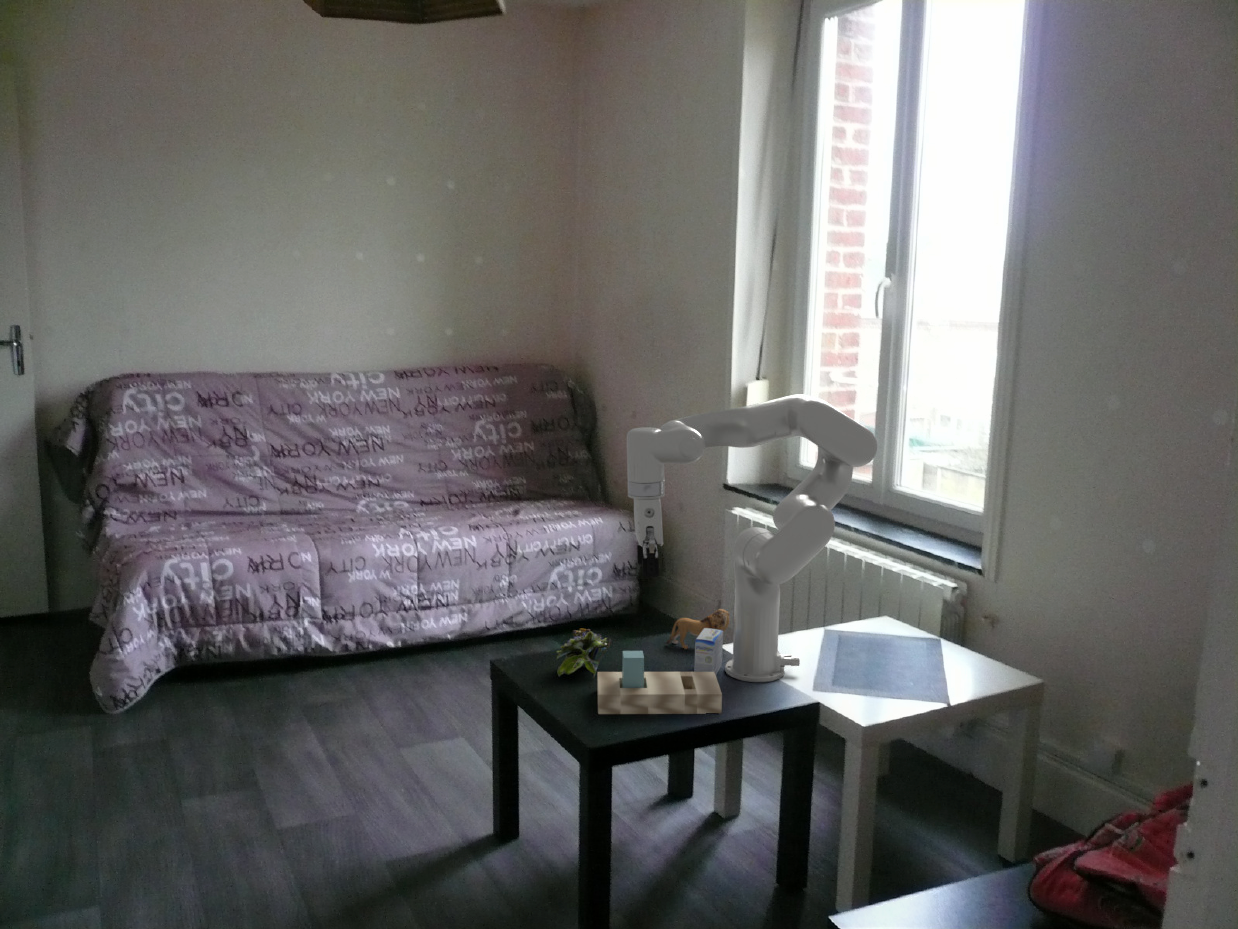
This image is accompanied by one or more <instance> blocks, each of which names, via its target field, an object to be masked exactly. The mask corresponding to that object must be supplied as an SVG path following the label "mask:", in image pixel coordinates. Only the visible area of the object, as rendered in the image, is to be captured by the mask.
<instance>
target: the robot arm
mask: <svg viewBox="0 0 1238 929" xmlns="http://www.w3.org/2000/svg"><path fill="white" fill-rule="evenodd" d="M798 436H799V437H801V438H804V439H806V440H808V441H810V442H811V443H813V444H814V445H816V446H817V458H816V463H815V465H814V467H813V468H812V470H811V472H810V473H809V474H808V475H807V476H806V477H805V478H804V479H803V480H802V481H801V482H800V483H799V484H798V485H797V486H796V487H795V488H794V489H793V490H791V491H790V492H789V493H788V494H787V495H786V496H785V497H784V498H783V499H782V500H781V501H780V502H779V503H778V504H777V505H776V507H775V508H774V511H773V513H772V521H773V524H774V526H775V528H776V529H777V531H776V532H775V533H773V532H772V531H770V530H768V529H767V528H763V527H758V526H757V527H756V526H754V527H753V526H752V527H749V528H746V529H744V530H742V531H741V532H740V533H739V534H738V535H737V537H736V539H735V541H734V544H733V547H732V564H733V573H734V603H733V604H734V607H733V609H734V612H733V640H732V643H733V644H732V659H730V660H729V661H727V662H725V665H724V667H725V668H724V670H725V672H726V674H727V675H728V676H730V677H732V678H734V679H736V680H739V681H742V682H743V681H744V682H751V683H767V682H774V681H776V680H779V679H781V678H782V677H783V676H784V675H785V668H786V666H790V667H799V666H800V665H801V663H800V657H799V656H792V654H791V653H785V654H783V653H782V654H781V653H780V651H779V647H778V646H779V628H780V627H779V624H780V623H779V622H780V603H781V589H780V588H781V586H780V585H781V584H784V583H786V582H788V581H790V580H791V579H792V578H793V577H794V576H796V575H797V574H798V573H799V572H800V571H801V570H802V569H803V568H804V567H805V566H806V565H807V564H809V563H810V562H811V560H813V559H814V558H815V557H816V556H817V555H818V554H819V553H820V552H821V551H822V550H823V549H824V548H825V547H826V546H827V545H828V543H829V542H830V541H831V539H832V537H833V534H834V532H835V527H836V522H835V521H836V520H835V517H834V514H833V513H832V511H831V510H833V509H834V507H835V506H836V505H837V504H838V503H839V502H840V501H841V500H842V498H844V496H845V495H846V494H847V492H848V490H849V488H850V487H851V482H852V478H853V474H854V468H860V467H863V466H866V465H868V464H870V463H871V462H872V461H873V459H875V457H876V454H877V452H878V441H877V438H876V436H875V434H874V433H873V431H871V429H869V428H868V427H866V426H865V425H863V424H862V423H860V422H858V421H856V420H855V419H854V418H852V417H850V416H848V415H847V414H845V412H842V411H841V410H839V409H837V408H836V407H835V406H834V405H832V404H830V403H829V402H827V401H826V400H823V399H822V398H819V397H814V396H810V395H807V394H799V393H798V394H797V393H796V394H791V395H787V396H784V397H783V396H782V397H779V398H775V399H774V398H773V399H770V400H767V401H762V402H759V403H753V404H749V405H745V406H741V407H734V408H728V409H723V410H717V411H708V412H702V413H697V414H693V415H688V416H684V417H680V418H676V419H673V420H669V421H668V422H667V421H666V422H665V423H664V424H662V425H661V426H660V427H659V428H657V427H649V426H647V427H645V426H643V427H635V428H632V429H630V430H628V432H627V434H626V460H627V461H626V462H627V464H626V466H627V467H626V468H627V470H626V472H627V497H628V498H630V499H633V520H634V531H635V538H636V540H637V547H636V552H637V555H636V556H637V564H638V565H642V576H643V578H657V577H659V576H660V575H659V574H660V573H659V572H660V571H659V568H660V567H659V566H660V565H659V564H660V563H659V561H660V560H659V552H658V545H659V546H660V547H662V546H663V545H664V534H663V533H664V532H663V512H662V503H661V502H662V501H661V498H664V497H665V496H666V491H665V490H666V488H665V487H666V485H665V482H666V480H665V464H674V465H690V464H693V463H695V462H697V461H698V460H700V459H701V458H702V456H703V455H704V453H705V450H706V449H707V448H712V447H713V448H714V447H729V448H730V447H732V448H742V449H743V448H754V447H759V446H762V445H766V444H770V443H773V442H776V441H777V442H778V441H781V440H786V439H790V438H793V437H798Z"/></svg>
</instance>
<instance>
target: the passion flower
mask: <svg viewBox="0 0 1238 929" xmlns="http://www.w3.org/2000/svg"><path fill="white" fill-rule="evenodd" d="M572 633H573V636H572V637H573V638H571V637H570V638H569V640H566V641H567V643H564V645H561V646H560V648H561V650H556V654H557V656H556V660H559V659H560V658H561V657H564V656H565V655H566V656H565V658H564V659H563V661H562V663H561V665H560V666H558V668H557V676H558V677H559V678H560V677H561V676H562V675H564V674H566V675H570V674H573V673H574V672H576V671H577V670H579V669H580V668H582V667H584V666H585V668H586V669H587V670H588V671H589V672H590V673H592V674H593V676H592V679H593V678H594V679H595V676H596V673H597V669H598V666H599V665H600V663H601V662H600V661H601V659H602V658H603V656H604V654H605V653H606V652H607V651H608V649H609V648H610V646H611V645H612V639H611V638H609V640H608V637H605V638H603V637H602V636H603V635H601V634H600V633H596V632H595V633H594V632H593V631H591V629H589V628H587V629H586V628H579V630H578V629H577V630H576V629H574V630H572ZM599 652H600V653H601V652H602V654H601V655H600V656H599V658H598V659H597V660H596V656H597V655H598V653H599Z"/></svg>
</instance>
